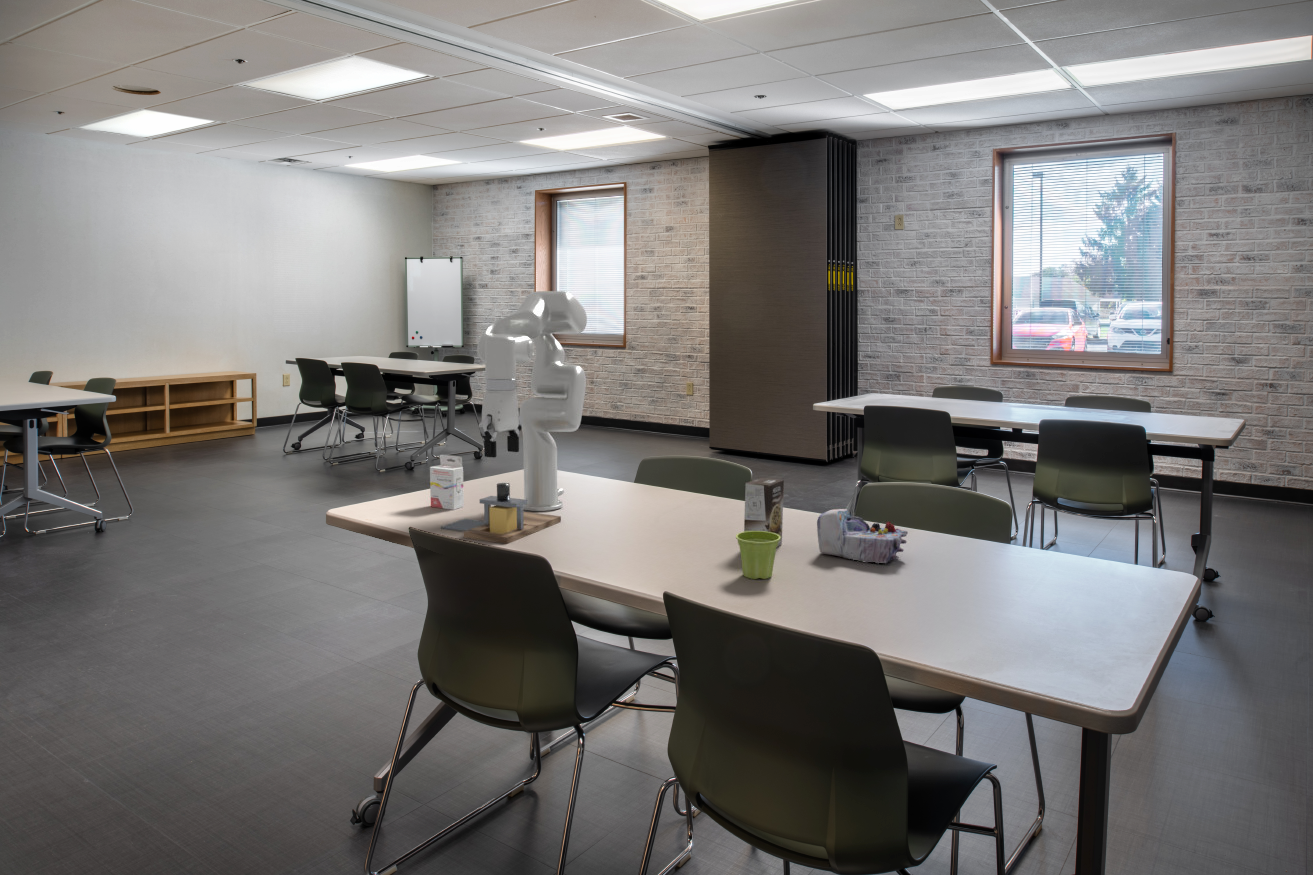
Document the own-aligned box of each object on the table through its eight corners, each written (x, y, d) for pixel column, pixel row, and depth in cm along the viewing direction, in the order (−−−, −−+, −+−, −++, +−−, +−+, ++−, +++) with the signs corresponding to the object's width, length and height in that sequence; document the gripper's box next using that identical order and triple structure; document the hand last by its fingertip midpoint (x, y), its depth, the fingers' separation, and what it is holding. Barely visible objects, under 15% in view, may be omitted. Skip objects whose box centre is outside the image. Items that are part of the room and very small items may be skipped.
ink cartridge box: (429, 507, 246) (428, 456, 244) (441, 503, 250) (439, 454, 248) (453, 510, 242) (452, 458, 240) (464, 506, 247) (463, 456, 245)
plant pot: (762, 585, 177) (764, 544, 175) (726, 575, 183) (727, 536, 182) (787, 575, 184) (789, 535, 182) (751, 566, 190) (752, 528, 189)
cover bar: (491, 522, 221) (490, 480, 220) (527, 526, 217) (527, 484, 215) (480, 526, 217) (479, 483, 215) (516, 531, 212) (516, 487, 211)
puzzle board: (520, 516, 235) (519, 511, 235) (560, 521, 230) (560, 516, 229) (463, 537, 213) (463, 531, 212) (507, 543, 207) (507, 537, 207)
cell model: (825, 501, 207) (910, 511, 200) (822, 544, 209) (907, 555, 201) (813, 512, 195) (904, 522, 188) (811, 558, 197) (900, 570, 189)
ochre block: (501, 530, 220) (501, 503, 219) (517, 532, 218) (517, 505, 217) (490, 534, 216) (489, 507, 215) (506, 536, 214) (506, 509, 213)
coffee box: (767, 552, 201) (769, 485, 199) (742, 548, 204) (744, 482, 202) (783, 544, 209) (785, 479, 206) (759, 540, 212) (760, 476, 210)
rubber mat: (464, 520, 231) (464, 518, 231) (495, 524, 226) (495, 522, 226) (440, 528, 222) (440, 526, 222) (472, 532, 217) (472, 531, 217)
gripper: (508, 383, 221) (509, 448, 224) (467, 387, 206) (468, 458, 208) (533, 384, 218) (533, 450, 220) (492, 388, 203) (494, 460, 205)
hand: (502, 454), depth 214 cm, fingers open, 9 cm apart
